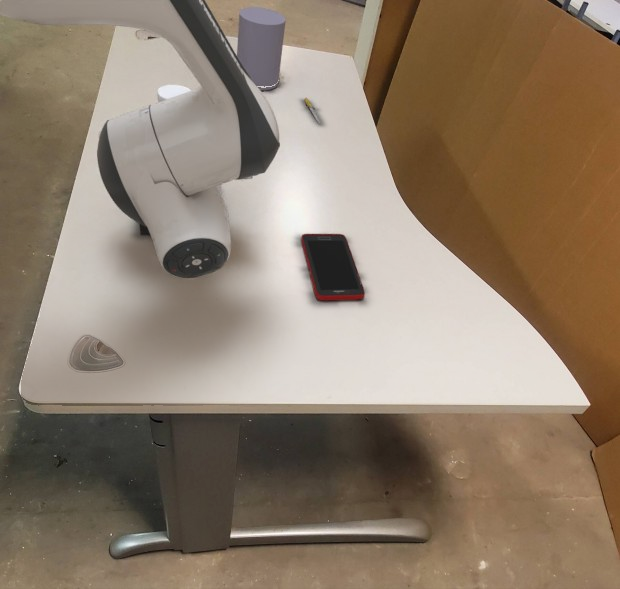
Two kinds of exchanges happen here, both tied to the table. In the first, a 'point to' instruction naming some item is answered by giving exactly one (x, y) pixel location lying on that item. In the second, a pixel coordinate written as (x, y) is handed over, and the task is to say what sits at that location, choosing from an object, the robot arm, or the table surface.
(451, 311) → the table surface
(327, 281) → the cell phone
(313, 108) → the dagger
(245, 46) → the container
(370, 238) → the table surface
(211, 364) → the table surface
